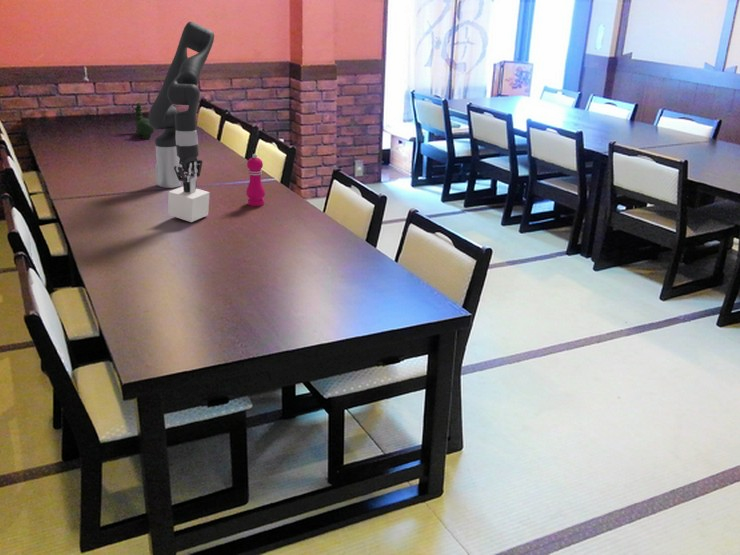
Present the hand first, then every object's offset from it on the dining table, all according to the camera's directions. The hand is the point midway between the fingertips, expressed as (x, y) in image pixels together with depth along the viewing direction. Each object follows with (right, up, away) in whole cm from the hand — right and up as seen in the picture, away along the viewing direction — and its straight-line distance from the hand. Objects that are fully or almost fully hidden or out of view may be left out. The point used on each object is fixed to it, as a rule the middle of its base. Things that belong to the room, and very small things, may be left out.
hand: (190, 190), depth 245 cm
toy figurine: (-63, +48, +139) cm, 160 cm away
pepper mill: (+20, -2, +25) cm, 32 cm away
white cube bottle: (-2, -8, +4) cm, 9 cm away
